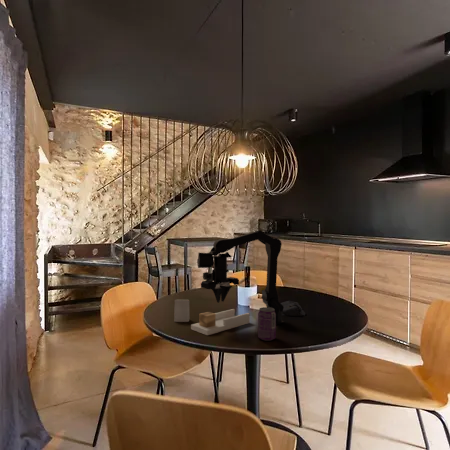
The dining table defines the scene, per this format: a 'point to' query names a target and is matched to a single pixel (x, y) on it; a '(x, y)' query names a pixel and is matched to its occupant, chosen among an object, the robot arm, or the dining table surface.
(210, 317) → the oak block
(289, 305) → the dark slate chunk
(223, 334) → the dining table surface
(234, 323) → the trap channel
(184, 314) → the grey box
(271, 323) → the beverage can
